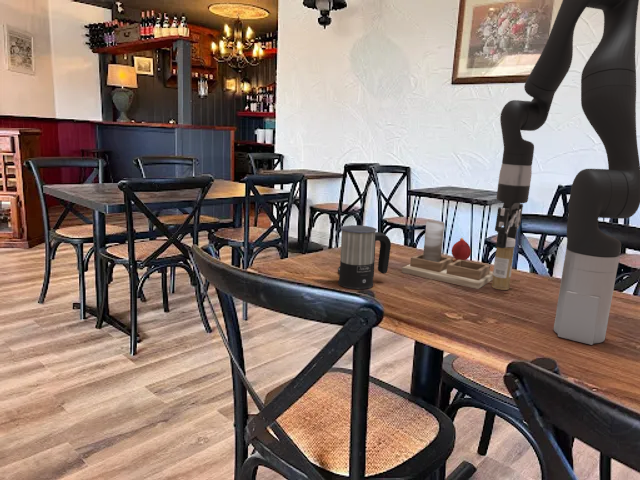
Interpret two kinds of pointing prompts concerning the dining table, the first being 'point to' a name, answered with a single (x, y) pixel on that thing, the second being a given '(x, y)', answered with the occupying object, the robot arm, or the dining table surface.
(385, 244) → the milk frother
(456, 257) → the onion
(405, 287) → the dining table surface
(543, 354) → the dining table surface
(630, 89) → the robot arm
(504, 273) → the sprinkles bottle
